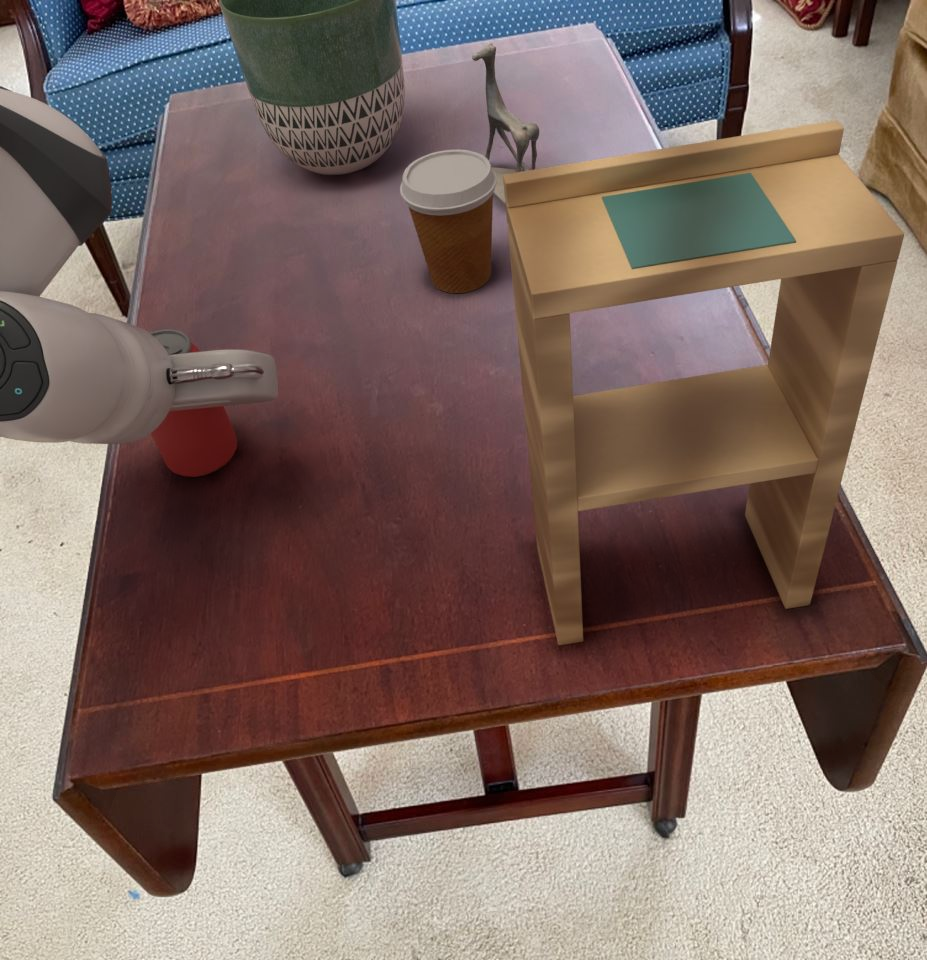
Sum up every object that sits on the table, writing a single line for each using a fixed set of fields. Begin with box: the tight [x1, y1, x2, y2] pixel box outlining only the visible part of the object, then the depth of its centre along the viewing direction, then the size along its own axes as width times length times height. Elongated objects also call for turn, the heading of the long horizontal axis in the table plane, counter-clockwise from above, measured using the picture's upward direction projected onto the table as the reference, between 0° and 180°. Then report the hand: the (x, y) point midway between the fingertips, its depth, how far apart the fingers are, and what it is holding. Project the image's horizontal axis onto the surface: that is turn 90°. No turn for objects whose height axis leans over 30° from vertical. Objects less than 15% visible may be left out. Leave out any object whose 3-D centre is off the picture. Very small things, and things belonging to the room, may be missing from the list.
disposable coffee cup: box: [399, 149, 497, 294], centre depth 95 cm, size 10×10×12 cm
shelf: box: [503, 120, 905, 646], centre depth 58 cm, size 18×9×32 cm, turn 96°
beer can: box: [149, 328, 238, 478], centre depth 80 cm, size 7×7×12 cm
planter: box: [218, 0, 406, 176], centre depth 112 cm, size 20×20×21 cm
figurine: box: [471, 43, 540, 207], centre depth 106 cm, size 11×6×15 cm, turn 15°
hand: (179, 394), depth 80 cm, fingers closed on beer can, 6 cm apart
